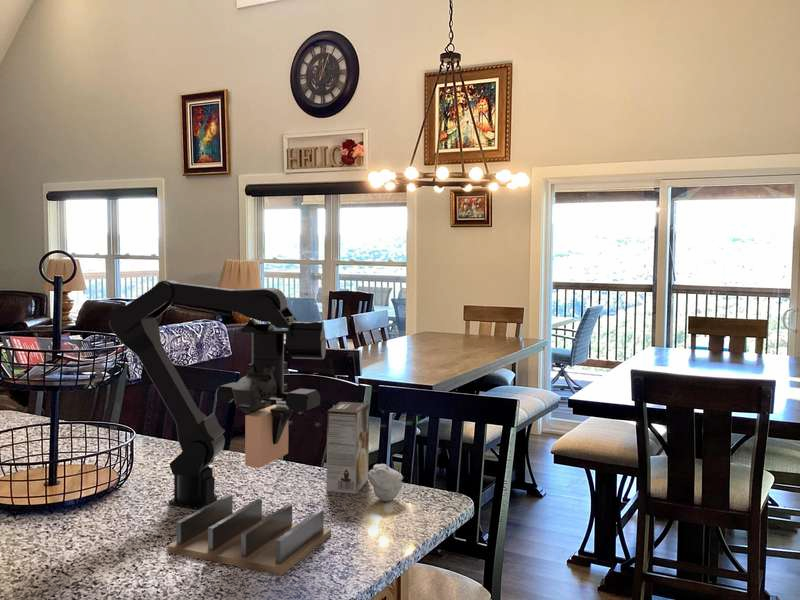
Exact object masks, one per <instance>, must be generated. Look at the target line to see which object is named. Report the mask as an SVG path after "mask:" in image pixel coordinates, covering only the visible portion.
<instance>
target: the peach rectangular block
mask: <svg viewBox="0 0 800 600" xmlns="http://www.w3.org/2000/svg"><path fill="white" fill-rule="evenodd" d="M275 407H276V404H272V405H270V406H268V407H265V408H264V409H261V410H259V411H256V412H253V413H251V414H248V415H246V414H245V415H244V416H245V417H244V418H245V421H244V422H245V423H244V425H245V426H244V428H245V429H244V433H245V437H244V438H245V439H244V440H245V441H244V442H245V443H244V445H245V446H244V451H245V453H244V460H245V461H244V466H246V467H250V468H251V467H252V468H258V469H261V468H262V467H264V466H266V465H268V464H270V463H273V462H274V461H277V460H278V459H280V458H282V457H284V456H286V455H287V454H289V420H288V421H287V423H286V425H285V428H284V430H283V432H282V435H281V437H280V439H279V442H278V443H277V444H273V415H272V413H271V411H270V409H273V408H275Z"/></svg>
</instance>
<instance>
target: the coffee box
mask: <svg viewBox="0 0 800 600" xmlns="http://www.w3.org/2000/svg"><path fill="white" fill-rule="evenodd" d="M326 416H327V417H326V425H327V426H326V490H325V491H326V492H330V493H341V494H342V493H344V494H354V495H355V494H356V493H357V494H358V492H360V490H361V489H362V488H363V486H365V484H366V483H367V481H369V480H368V476H369V475H368V474H367V472H369V446H370V445H369V444H370V442H369V438H370V437H369V436H370V435H369V432H370V402H369V403H368V402H354V401H353V402H352V401H339V402H338V403H336V404H335V405H334V406H332V407H331V408H330V409H328V410H327V413H326ZM357 494H356V495H357Z"/></svg>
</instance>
